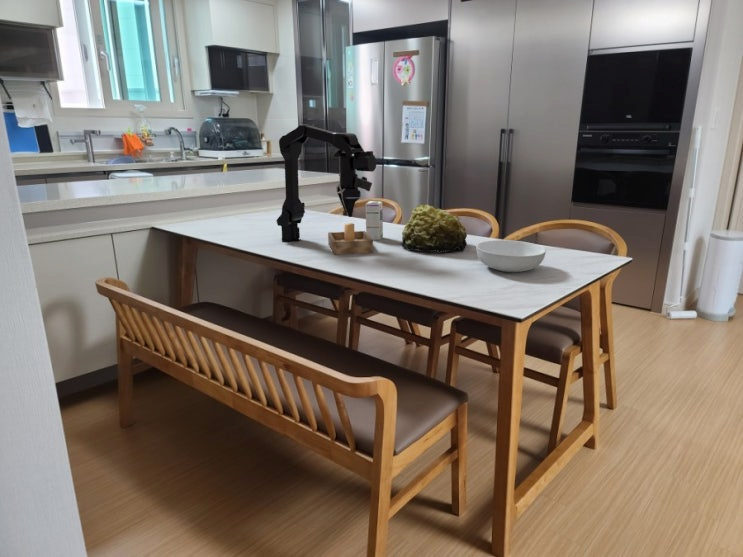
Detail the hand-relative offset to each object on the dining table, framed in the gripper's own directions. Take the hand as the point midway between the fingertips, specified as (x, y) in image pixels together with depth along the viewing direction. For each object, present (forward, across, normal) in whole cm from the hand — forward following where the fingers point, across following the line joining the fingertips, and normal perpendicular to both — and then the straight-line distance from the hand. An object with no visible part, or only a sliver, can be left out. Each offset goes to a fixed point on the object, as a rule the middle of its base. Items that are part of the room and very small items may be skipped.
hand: (348, 214), depth 184 cm
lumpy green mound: (+13, -4, -31) cm, 34 cm away
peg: (+12, 0, 0) cm, 12 cm away
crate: (+12, 0, 0) cm, 12 cm away
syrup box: (+13, +15, -12) cm, 23 cm away
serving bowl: (+13, -37, -45) cm, 60 cm away
